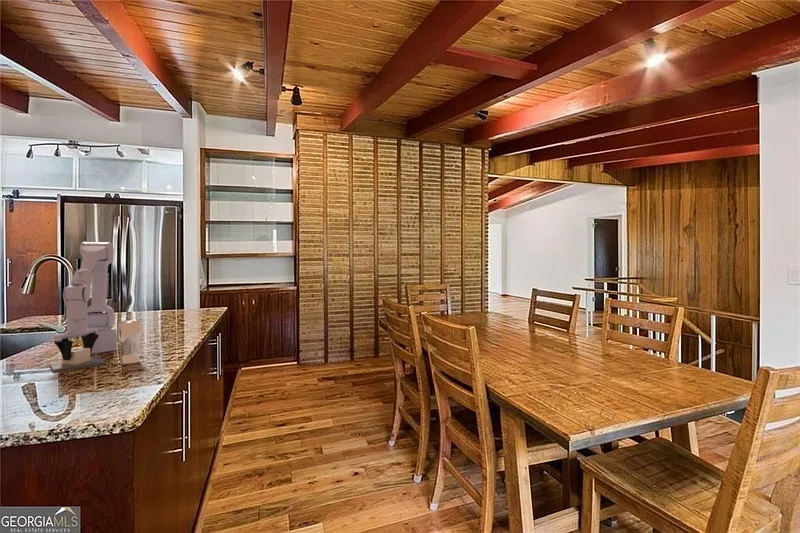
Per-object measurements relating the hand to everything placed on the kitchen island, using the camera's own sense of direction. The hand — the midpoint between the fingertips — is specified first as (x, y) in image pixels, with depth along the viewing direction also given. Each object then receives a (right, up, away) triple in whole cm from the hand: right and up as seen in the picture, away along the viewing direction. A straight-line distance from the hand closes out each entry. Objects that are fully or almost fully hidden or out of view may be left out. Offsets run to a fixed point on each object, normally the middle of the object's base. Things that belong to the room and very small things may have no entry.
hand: (77, 357), depth 141 cm
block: (0, -2, 0) cm, 2 cm away
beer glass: (+15, -3, +5) cm, 16 cm away
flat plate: (0, -3, 0) cm, 3 cm away
